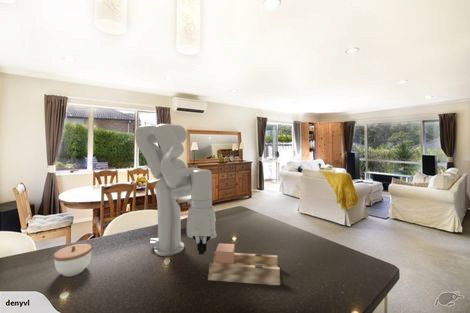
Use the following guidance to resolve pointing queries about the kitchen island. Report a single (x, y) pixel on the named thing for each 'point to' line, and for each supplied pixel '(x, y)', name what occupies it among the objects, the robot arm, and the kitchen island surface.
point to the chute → (247, 269)
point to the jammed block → (225, 253)
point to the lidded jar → (72, 259)
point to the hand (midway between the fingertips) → (202, 252)
